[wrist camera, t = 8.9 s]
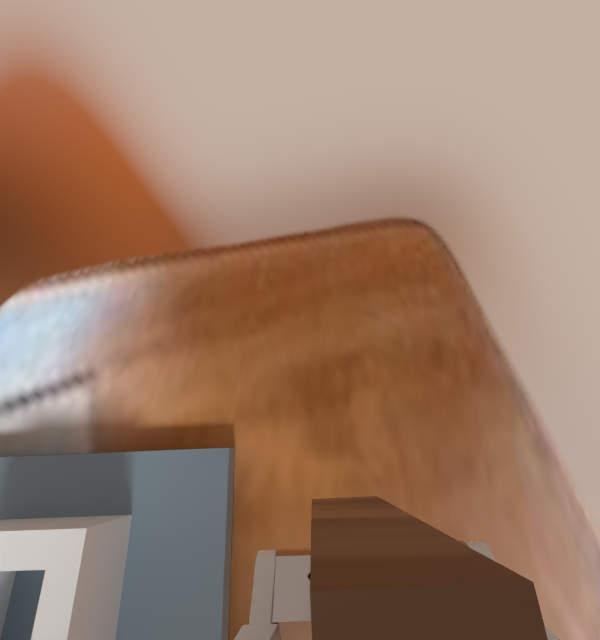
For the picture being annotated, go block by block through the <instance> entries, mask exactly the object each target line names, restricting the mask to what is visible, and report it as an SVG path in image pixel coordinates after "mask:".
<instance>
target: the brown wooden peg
mask: <svg viewBox="0 0 600 640" xmlns="http://www.w3.org/2000/svg"><path fill="white" fill-rule="evenodd" d="M310 605H311V627H312V640H548V638H547V634H546V630H545V627H544V623H543V619H542V615H541V611H540V607H539V603H538V599H537V595H536V591H535V587H534V584H533V582H532V581H530V580H528V579H526V578H524V577H522V576H521V575H519V574H517V573H515V572H513V571H512V570H510V569H508V568H506V567H504V566H502V565H501V564H499V563H497V562H495V561H493V560H492V559H490V558H488V557H486V556H484V555H483V554H481V553H479V552H477V551H475V550H473V549H472V548H470V547H468V546H466V545H464V544H463V543H461V542H459V541H457V540H455V539H453V538H452V537H450V536H448V535H446V534H444V533H443V532H441V531H439V530H437V529H435V528H433V527H432V526H430V525H428V524H426V523H424V522H423V521H421V520H419V519H417V518H415V517H413V516H412V515H410V514H408V513H406V512H404V511H403V510H401V509H399V508H397V507H395V506H393V505H392V504H390V503H388V502H386V501H384V500H383V499H381V498H379V497H377V496H372V497H351V498H329V499H312V523H311V566H310Z"/></svg>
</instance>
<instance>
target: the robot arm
mask: <svg viewBox="0 0 600 640" xmlns="http://www.w3.org/2000/svg"><path fill="white" fill-rule="evenodd" d="M459 542H461V543H463V544H464V545H466V546H468V547H470V548H472V549H473V550H475V551H477V552H479V553H481V554H483V555H484V556H486V557H488V558H490V559H492V560H493V561H495V562H496V560H495V558H494V556H493V554H492V552H491V550H490V549H489V547H488V545H487V544H486V543H485V542H484V541H481V540H480V541H459ZM310 566H311V549H289V550H259V551H258V553H257V556H256V562H255V571H254V580H253V589H252V598H251V607H250V616H249V624H248V625H242V627H241V629H240V630H239V632H238V633H237V635H236V637H235V638H234V640H312V627H311V605H310ZM544 627H545V626H544ZM545 630H546V634H547V638H548V640H559V639H558V638H557V637H556V636H555V635H554V634H553V633H552V632H550V631H549V630H548V629H547V628H546V627H545Z"/></svg>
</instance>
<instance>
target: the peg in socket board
mask: <svg viewBox="0 0 600 640" xmlns="http://www.w3.org/2000/svg"><path fill="white" fill-rule="evenodd" d="M234 463H235V448H206V449H183V450H159V451H135V452H111V453H87V454H64V455H40V456H16V457H0V640H228V635H229V606H230V577H231V549H232V520H233V491H234Z"/></svg>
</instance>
